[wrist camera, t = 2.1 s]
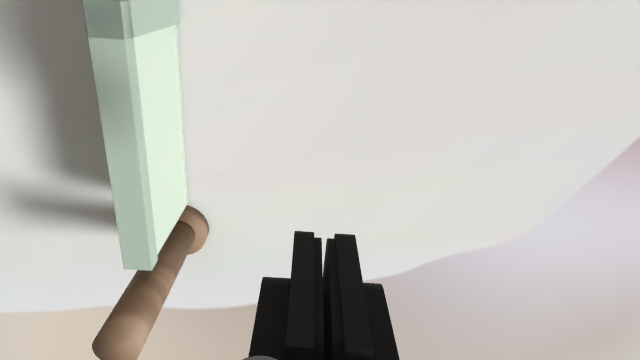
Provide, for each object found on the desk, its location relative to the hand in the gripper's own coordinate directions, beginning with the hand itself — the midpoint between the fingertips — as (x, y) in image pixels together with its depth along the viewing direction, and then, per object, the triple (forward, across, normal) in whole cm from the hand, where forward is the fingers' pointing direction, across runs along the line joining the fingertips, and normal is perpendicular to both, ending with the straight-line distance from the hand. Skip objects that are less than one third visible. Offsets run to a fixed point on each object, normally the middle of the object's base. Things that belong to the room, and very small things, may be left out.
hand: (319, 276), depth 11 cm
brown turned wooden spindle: (+18, +10, +11) cm, 24 cm away
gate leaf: (+18, +10, +1) cm, 21 cm away
